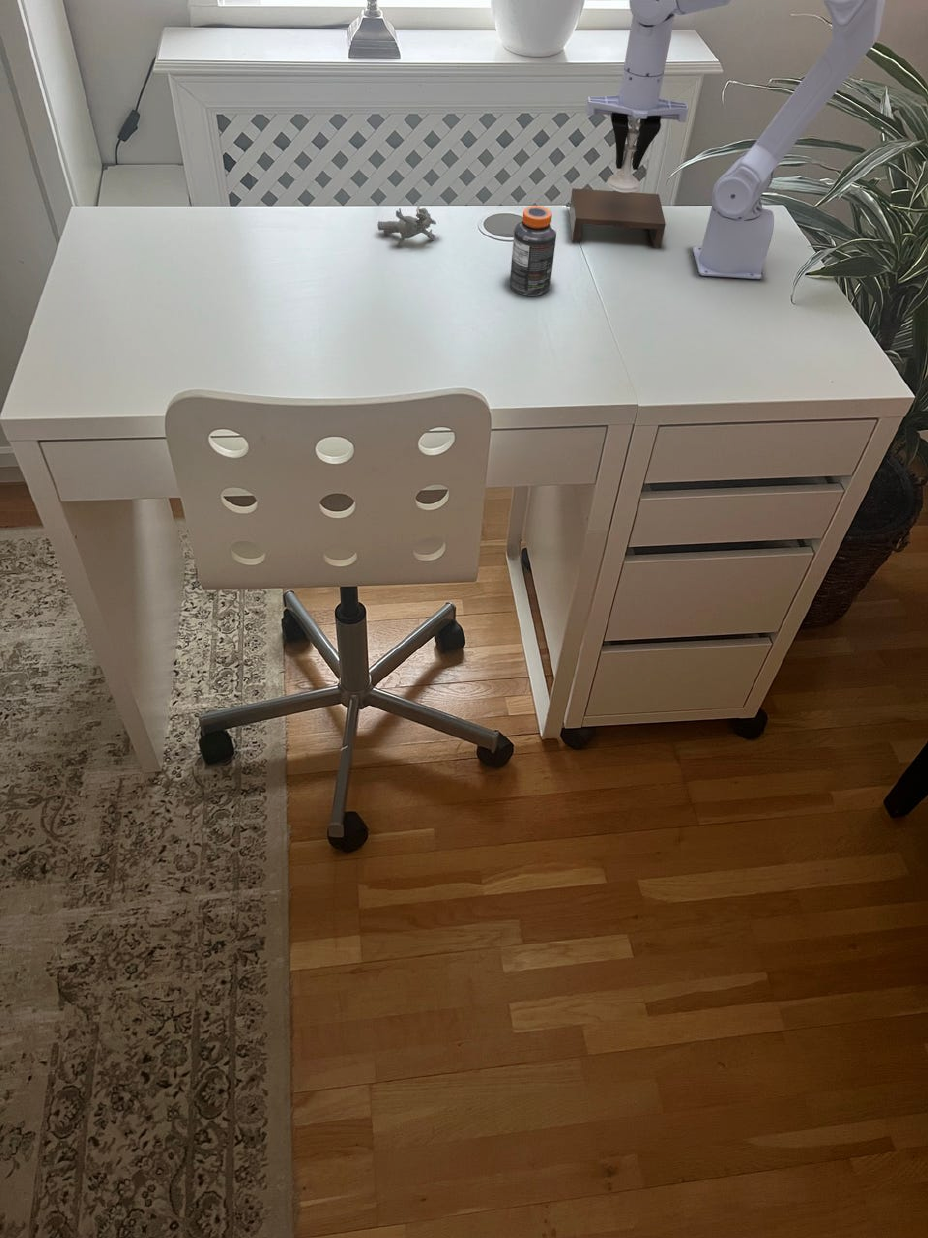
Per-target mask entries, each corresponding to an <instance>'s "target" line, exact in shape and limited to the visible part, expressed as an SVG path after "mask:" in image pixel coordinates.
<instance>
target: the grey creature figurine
mask: <svg viewBox="0 0 928 1238" xmlns="http://www.w3.org/2000/svg"><path fill="white" fill-rule="evenodd" d="M420 207H421V203H419V204H418V205H417V207H416V208H415V212H416V214H415V217H413V216H411V215H403V213H402V208H401V207H399V208H398V209H396V210H395V217H397V218H398V219H399V220H398V221H396V220H388V221H381V220H378V221H377V230H378V231H382V232H383V235H385V236H386V235H391V234H400V240H399V242H398V243H397V244H396V247H399V246H400V244H401V243H402V242H404V240H406V239H411V238H413V237H416V236H417V235H420V234H424V235H425V236H426V237H428V239H429V240H432V241H435V240H436V235H435V234H434V233H433V229H432V228H431V229H430V230H429V231H428V230H427V229H429V228H430V227H431V225H436V224H437V222H436V221H435V220H434V219H433V218H432V217H431V213H430V212H429V211H428V209H427V208H426V207H421V208H420Z"/></svg>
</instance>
